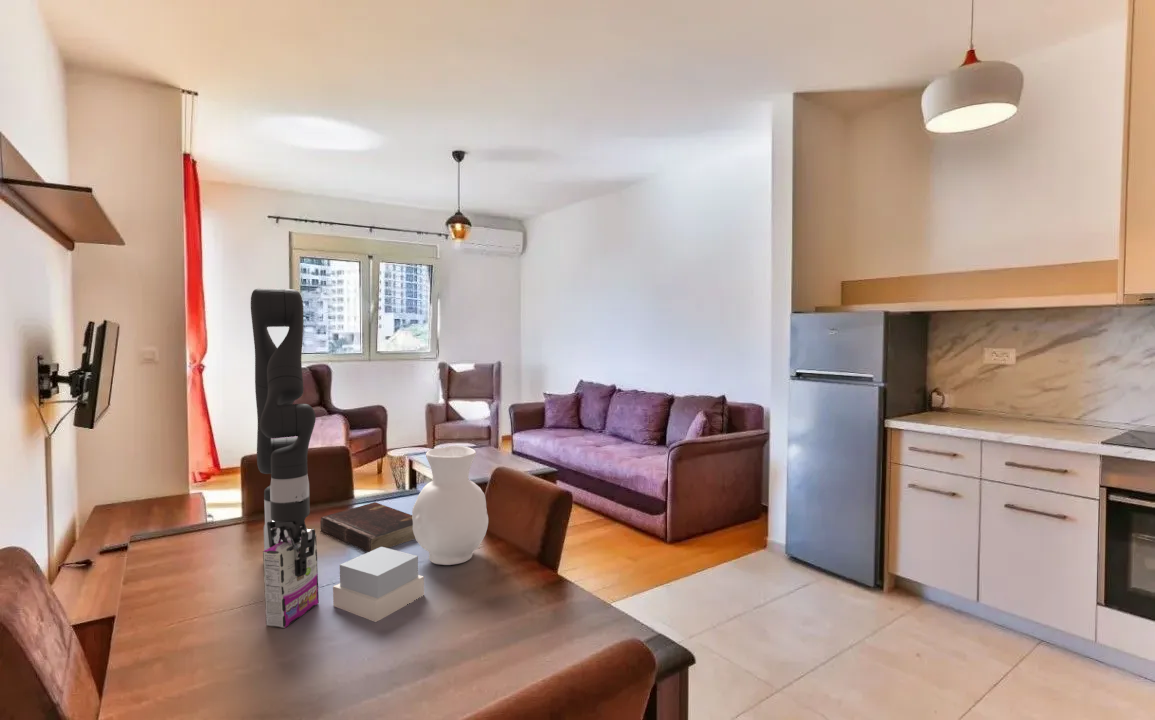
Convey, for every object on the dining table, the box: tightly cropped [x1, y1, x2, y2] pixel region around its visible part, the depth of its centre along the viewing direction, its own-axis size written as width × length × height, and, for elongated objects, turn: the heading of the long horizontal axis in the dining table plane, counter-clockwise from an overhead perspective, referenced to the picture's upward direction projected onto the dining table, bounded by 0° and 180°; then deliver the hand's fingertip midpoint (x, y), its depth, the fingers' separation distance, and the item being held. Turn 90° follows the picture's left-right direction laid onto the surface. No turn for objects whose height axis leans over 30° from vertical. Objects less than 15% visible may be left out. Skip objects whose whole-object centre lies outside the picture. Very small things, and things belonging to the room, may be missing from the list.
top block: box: [339, 547, 419, 598], centre depth 127 cm, size 12×12×5 cm
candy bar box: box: [262, 533, 320, 629], centre depth 121 cm, size 11×5×16 cm, turn 169°
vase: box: [411, 445, 489, 566], centre depth 151 cm, size 19×21×30 cm
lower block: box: [332, 574, 425, 623], centre depth 128 cm, size 14×14×5 cm
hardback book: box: [320, 501, 416, 553], centre depth 171 cm, size 29×19×5 cm, turn 51°
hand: (291, 571), depth 121 cm, fingers closed on candy bar box, 6 cm apart
